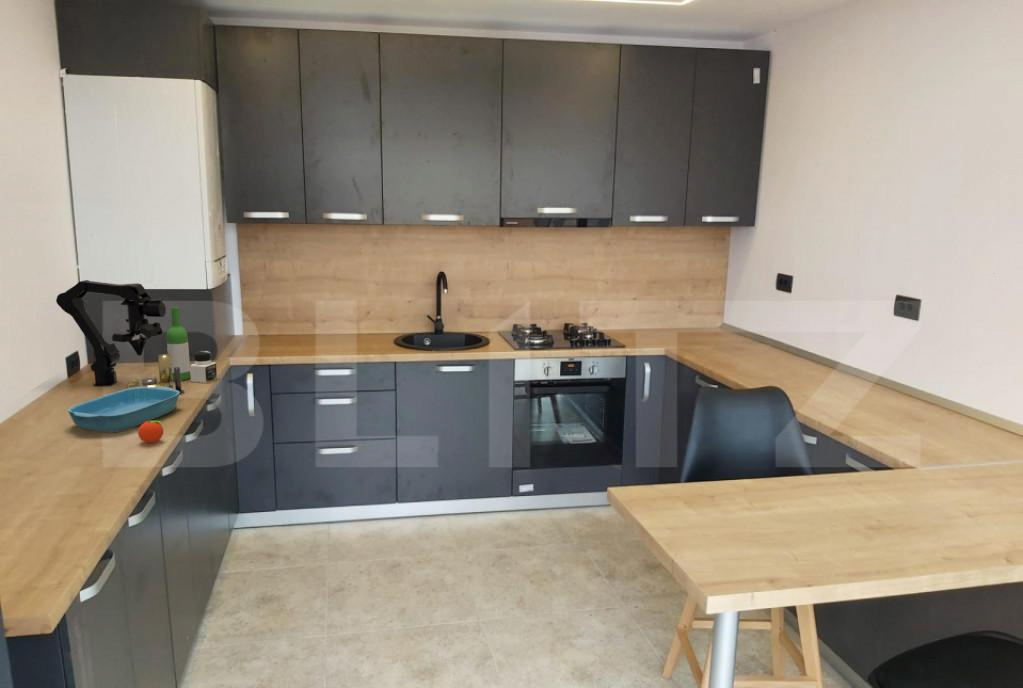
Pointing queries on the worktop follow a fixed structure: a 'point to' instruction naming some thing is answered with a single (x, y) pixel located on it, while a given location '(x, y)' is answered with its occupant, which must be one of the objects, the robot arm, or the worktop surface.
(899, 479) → the worktop surface
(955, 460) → the worktop surface
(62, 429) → the worktop surface
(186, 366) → the wine bottle
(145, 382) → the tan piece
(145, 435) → the tomato
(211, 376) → the medicine bottle
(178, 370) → the stop post
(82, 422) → the casserole dish
